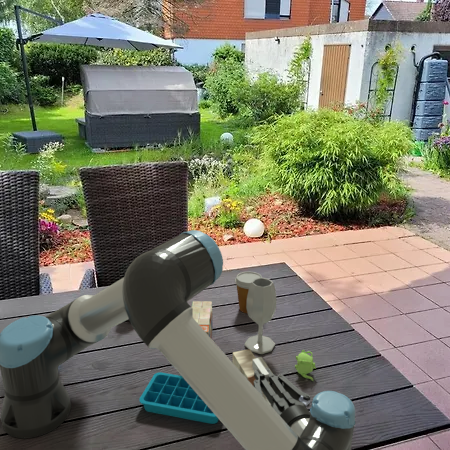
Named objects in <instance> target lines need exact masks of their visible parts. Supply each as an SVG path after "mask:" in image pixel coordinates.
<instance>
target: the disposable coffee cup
mask: <svg viewBox="0 0 450 450" xmlns="http://www.w3.org/2000/svg"><path fill="white" fill-rule="evenodd" d="M260 277H262V278H263V276H262V274H261V273H258V272H255V271H243V272H242V271H241V272H239V273H238V274H236V278H235V279H234V282H235V284H236V291H237V301H238V308H239V310H240V312H242V313H243V314H248V312H247V308H246V306H247V295H248V290H249V287H250V285H251V282H252V281H253V280H254V279H256V278H260Z"/></svg>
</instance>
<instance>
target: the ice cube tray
mask: <svg viewBox="0 0 450 450" xmlns="http://www.w3.org/2000/svg"><path fill="white" fill-rule="evenodd" d="M138 400H139V403H140V404H141V405H143V409H144V410H145V411H146V412H148V413H153V414H159V415H163V416H169V417H174V418H180V419H185V420H190V421H195V422H201V423H206V424H212V425H214V424H217V423H218V422H219V421H220V420H219V419H218V418H217V416H216V415H215V414H214V413H213V412H212V411H211V409H210V408H209V407H208V406H207V405H206V404H205V403H204V401H203V400H202V399H201V398H200V397H199V396H198V394H197V393H196V392H195V391H194V390H193V389H192V388H191V386H190V385H189V384H188V383H187V382H186V381H185V379H184V378H183V377H182V376H181V375H180V374H173V373H168V372H167V373H166V372H161V371H159V372H155V373H154V374H153V376H152V378H151V379H150V380H149V382H148V384H147V386H145V389H144V390H143V392H142V394H141V395H140V397H139V399H138Z"/></svg>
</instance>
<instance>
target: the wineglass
mask: <svg viewBox="0 0 450 450" xmlns="http://www.w3.org/2000/svg"><path fill="white" fill-rule="evenodd" d="M275 287H276V286H275V284H274V281H272V280H271V279H270V278H267V277H263V276H262V277H260V278H256V279H254V280H253V281H252V282H251V285H250V287H249V290H248V295H247V306H246V308H247V312H248V313H247V316H248V318H250V319H251V320H252V321H253V322H254V323H256V325H257V334H256V335H252V336H249V337H248V338H247V340H246V341H245V343H244V347H245V348H246V349H250V350H251V352H252V353H253V354H258V355H264V354H267V353H271V352H272V351H273V349H274V347H275V346H276V343H275V342H274V341H273V339H272V338H270V337H269V336H265V335H263V334H264V325H265V324H267V323H269V322H271V321H272V319H273V318H274V314H275V312H276V310H277V292H276V288H275Z"/></svg>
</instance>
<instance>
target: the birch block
mask: <svg viewBox="0 0 450 450" xmlns="http://www.w3.org/2000/svg"><path fill="white" fill-rule="evenodd" d="M256 358H257V357H256V356H255V353H254V352H251V350H250V349H248V348H246V349H244V350H243V349H242V350H238V351H233V352H232V360H231V361H232V363H233V364H234V365H235V366H236V367H237V368H238V369H239V370H240V372H241V373H242V374H243V375H244V376H245V377H246V378H247V379H248V381H249V382H250V383H251V384H252V385H253V386H254V380H256V379H255V377H254V370H253V369H252V362H253V359H256ZM261 391H262V390H261Z"/></svg>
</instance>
